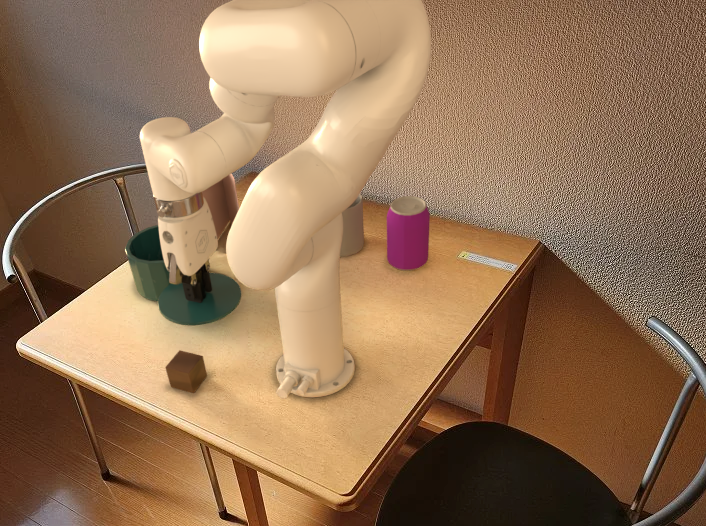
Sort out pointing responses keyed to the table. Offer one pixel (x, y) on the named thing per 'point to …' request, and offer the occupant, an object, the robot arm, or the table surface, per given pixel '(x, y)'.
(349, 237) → the cup
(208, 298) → the lid
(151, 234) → the pot
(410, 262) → the beverage can
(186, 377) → the block
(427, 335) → the table surface
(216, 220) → the greeting card
